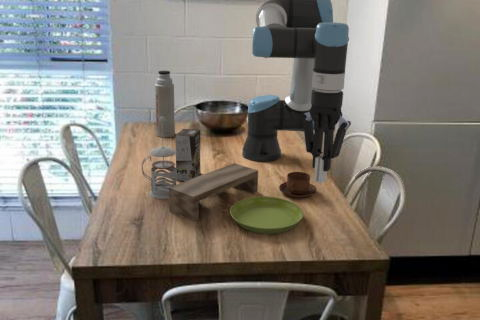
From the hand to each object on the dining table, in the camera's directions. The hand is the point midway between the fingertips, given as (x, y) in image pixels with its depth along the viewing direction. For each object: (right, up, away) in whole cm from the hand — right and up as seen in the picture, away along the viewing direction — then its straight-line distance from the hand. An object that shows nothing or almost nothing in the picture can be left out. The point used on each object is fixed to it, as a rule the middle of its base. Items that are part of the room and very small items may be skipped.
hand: (320, 181), depth 128 cm
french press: (-45, -5, +32) cm, 56 cm away
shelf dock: (-28, -7, +27) cm, 40 cm away
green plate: (-13, -12, +15) cm, 24 cm away
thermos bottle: (-53, +16, +94) cm, 109 cm away
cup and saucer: (-2, -6, +35) cm, 36 cm away
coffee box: (-38, -1, +46) cm, 60 cm away
